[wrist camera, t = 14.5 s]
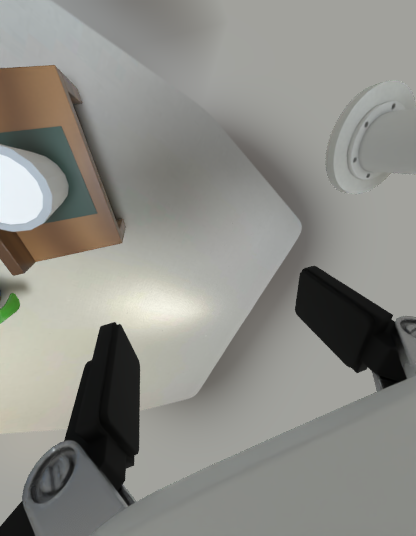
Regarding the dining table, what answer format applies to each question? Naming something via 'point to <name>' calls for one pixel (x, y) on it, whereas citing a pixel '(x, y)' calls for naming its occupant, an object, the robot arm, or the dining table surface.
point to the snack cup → (9, 307)
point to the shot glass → (28, 189)
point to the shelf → (65, 156)
